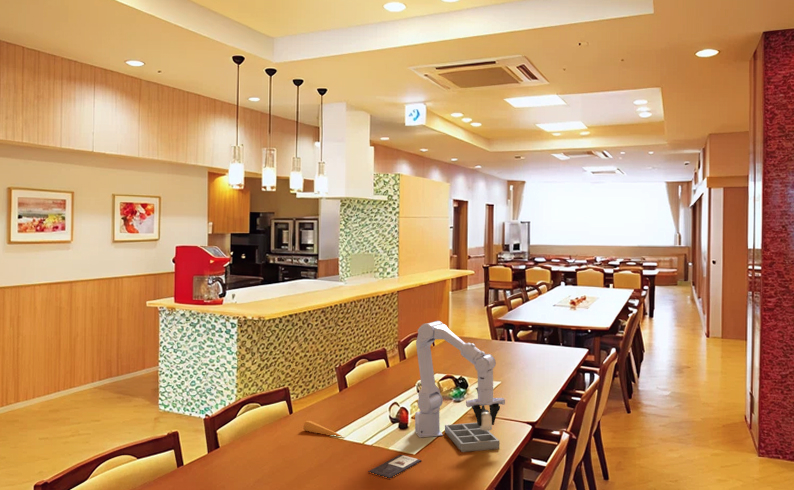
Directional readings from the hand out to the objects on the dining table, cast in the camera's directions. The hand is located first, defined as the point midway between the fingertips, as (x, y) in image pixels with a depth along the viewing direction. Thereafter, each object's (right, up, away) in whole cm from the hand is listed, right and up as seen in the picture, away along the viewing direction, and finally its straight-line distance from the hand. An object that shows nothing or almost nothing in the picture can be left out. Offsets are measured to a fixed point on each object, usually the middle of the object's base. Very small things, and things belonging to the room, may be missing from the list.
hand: (485, 424), depth 216 cm
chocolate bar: (-33, -9, -18) cm, 39 cm away
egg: (0, -1, 0) cm, 1 cm away
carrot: (-62, -9, +15) cm, 64 cm away
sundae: (+5, -7, +42) cm, 43 cm away
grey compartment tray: (-5, -8, +6) cm, 11 cm away
